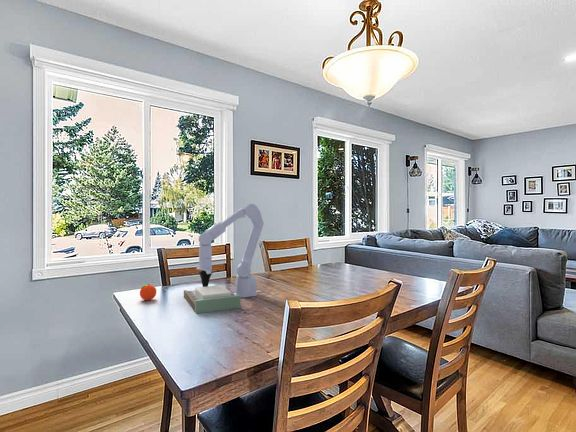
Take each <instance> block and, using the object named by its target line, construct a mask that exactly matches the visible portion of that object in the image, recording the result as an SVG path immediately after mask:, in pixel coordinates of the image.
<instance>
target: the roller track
mask: <svg viewBox="0 0 576 432" xmlns="http://www.w3.org/2000/svg"><path fill="white" fill-rule="evenodd" d="M232 295H234V294H232V293H231V296H232ZM183 298H184V299H185V301H186V302H187V303H188V305H189V307H191V309H192V310H193V311H194V313H195V300H197V299H199V298H198V297H197V296H196V295H195V289H193V290H186V289H184V290H183Z"/></svg>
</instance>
